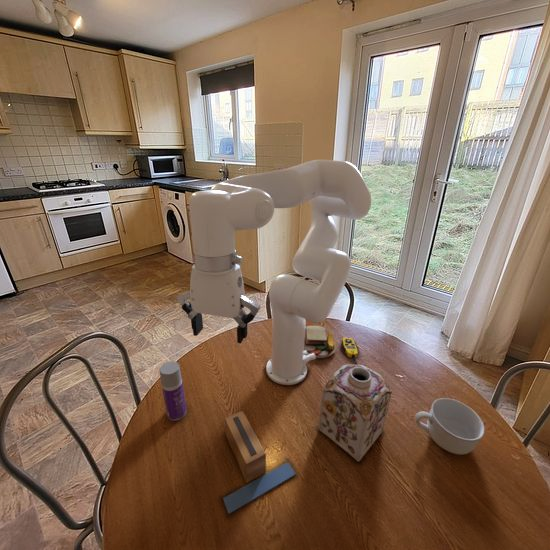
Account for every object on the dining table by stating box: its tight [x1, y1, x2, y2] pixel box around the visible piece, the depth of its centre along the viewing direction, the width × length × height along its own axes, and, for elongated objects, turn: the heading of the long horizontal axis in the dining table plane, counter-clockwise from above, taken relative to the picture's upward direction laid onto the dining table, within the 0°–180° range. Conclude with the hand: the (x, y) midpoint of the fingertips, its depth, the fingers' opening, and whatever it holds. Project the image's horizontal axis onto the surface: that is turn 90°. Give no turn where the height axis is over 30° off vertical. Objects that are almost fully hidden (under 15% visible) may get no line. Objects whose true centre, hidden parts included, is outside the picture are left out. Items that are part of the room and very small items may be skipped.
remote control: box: [341, 337, 359, 365], centre depth 97 cm, size 5×2×15 cm
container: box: [159, 360, 187, 421], centre depth 72 cm, size 5×5×15 cm
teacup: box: [414, 397, 486, 455], centre depth 69 cm, size 14×11×8 cm
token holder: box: [224, 410, 267, 483], centre depth 64 cm, size 12×4×6 cm, turn 29°
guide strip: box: [222, 461, 297, 515], centre depth 59 cm, size 15×3×1 cm, turn 119°
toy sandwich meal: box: [304, 325, 337, 359], centre depth 100 cm, size 12×14×5 cm
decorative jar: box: [318, 363, 393, 462], centre depth 68 cm, size 12×12×18 cm
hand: (219, 335), depth 61 cm, fingers open, 9 cm apart
